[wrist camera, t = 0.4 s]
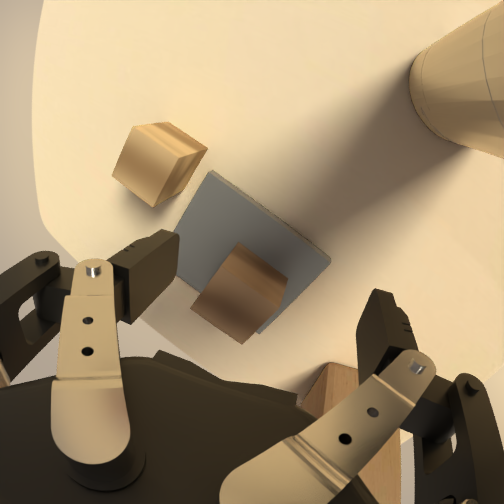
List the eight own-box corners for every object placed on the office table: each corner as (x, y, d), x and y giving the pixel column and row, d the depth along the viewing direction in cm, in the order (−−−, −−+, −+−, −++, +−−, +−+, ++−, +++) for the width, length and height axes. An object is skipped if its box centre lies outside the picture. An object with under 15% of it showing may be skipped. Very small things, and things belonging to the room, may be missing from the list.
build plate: (212, 170, 28) (208, 172, 27) (330, 258, 29) (330, 262, 28) (162, 256, 34) (157, 260, 33) (261, 328, 35) (259, 334, 34)
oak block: (168, 121, 27) (132, 126, 22) (208, 148, 27) (178, 157, 22) (147, 163, 29) (111, 175, 24) (184, 189, 30) (152, 207, 24)
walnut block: (238, 241, 29) (221, 265, 25) (288, 278, 30) (279, 308, 25) (209, 281, 32) (190, 308, 28) (254, 314, 33) (242, 344, 28)
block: (299, 401, 39) (269, 531, 21) (327, 357, 34) (304, 516, 17) (362, 417, 38) (351, 541, 20) (397, 376, 33) (403, 523, 16)
